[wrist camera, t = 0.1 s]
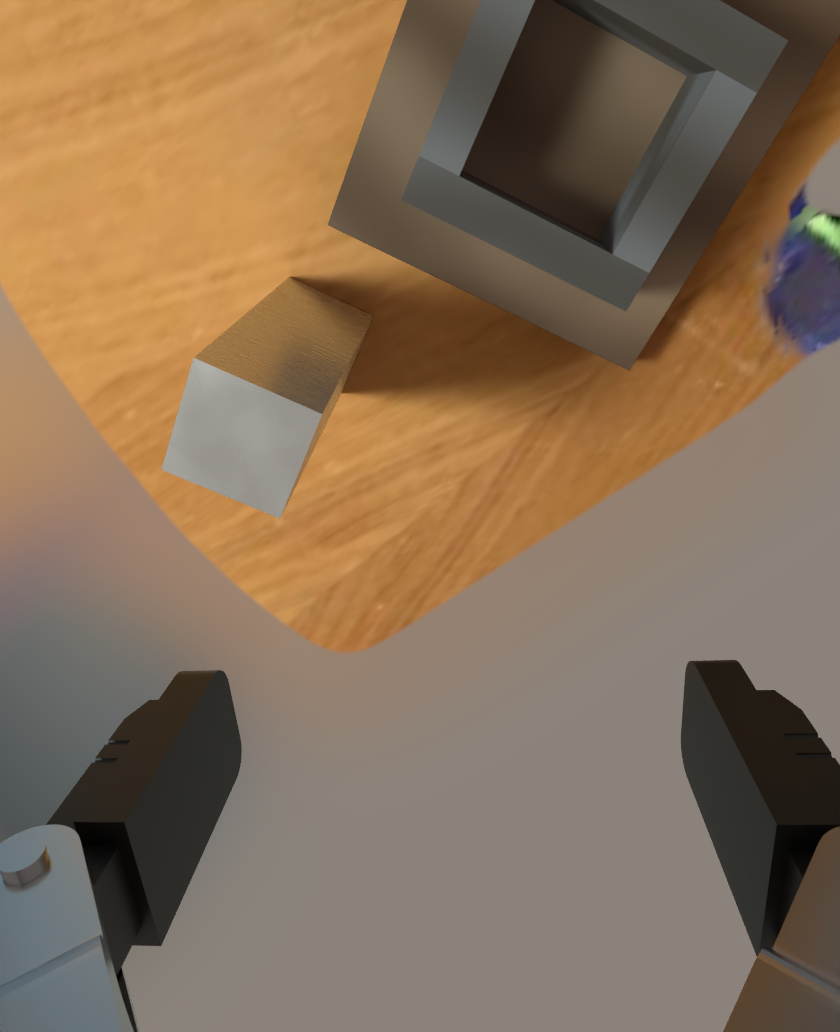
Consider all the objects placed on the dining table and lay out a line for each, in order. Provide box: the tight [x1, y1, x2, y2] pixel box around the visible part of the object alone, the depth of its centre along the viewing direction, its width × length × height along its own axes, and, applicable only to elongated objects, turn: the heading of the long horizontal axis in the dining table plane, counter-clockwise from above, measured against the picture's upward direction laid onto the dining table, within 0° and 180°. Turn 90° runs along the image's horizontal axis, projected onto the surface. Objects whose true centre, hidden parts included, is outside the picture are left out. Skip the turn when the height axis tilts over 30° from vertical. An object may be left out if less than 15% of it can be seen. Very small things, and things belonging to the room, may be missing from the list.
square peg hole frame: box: [328, 0, 840, 370], centre depth 25 cm, size 14×14×5 cm
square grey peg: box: [162, 277, 373, 518], centre depth 27 cm, size 4×4×12 cm
